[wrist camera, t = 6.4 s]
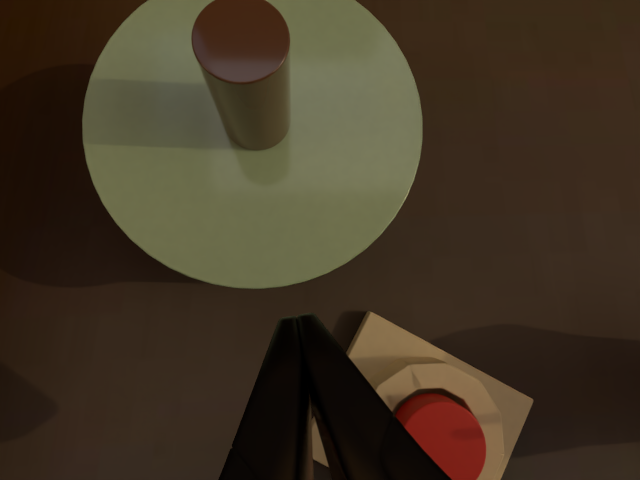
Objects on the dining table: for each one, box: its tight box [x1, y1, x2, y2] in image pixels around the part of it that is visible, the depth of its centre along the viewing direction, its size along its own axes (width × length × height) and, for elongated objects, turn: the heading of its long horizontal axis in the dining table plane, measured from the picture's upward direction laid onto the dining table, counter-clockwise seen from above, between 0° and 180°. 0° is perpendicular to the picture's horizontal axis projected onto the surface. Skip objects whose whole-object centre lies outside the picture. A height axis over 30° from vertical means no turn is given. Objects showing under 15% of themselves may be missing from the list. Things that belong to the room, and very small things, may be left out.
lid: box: [82, 0, 422, 289], centre depth 14 cm, size 13×13×6 cm
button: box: [395, 393, 486, 480], centre depth 19 cm, size 4×4×2 cm
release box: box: [312, 311, 533, 480], centre depth 21 cm, size 10×8×3 cm
